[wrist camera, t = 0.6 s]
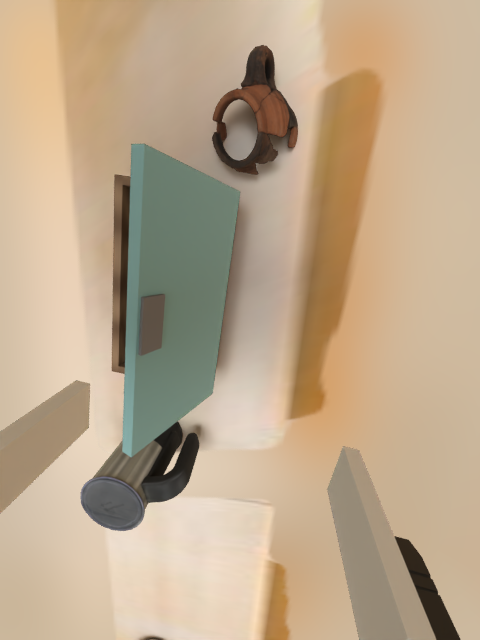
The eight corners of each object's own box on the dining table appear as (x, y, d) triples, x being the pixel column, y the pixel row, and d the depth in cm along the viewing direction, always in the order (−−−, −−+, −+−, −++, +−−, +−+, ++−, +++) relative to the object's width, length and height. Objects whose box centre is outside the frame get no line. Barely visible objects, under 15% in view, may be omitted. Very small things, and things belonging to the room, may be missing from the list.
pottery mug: (300, 172, 36) (270, 175, 30) (242, 173, 40) (206, 175, 35) (310, 48, 30) (275, 22, 24) (240, 66, 34) (196, 47, 29)
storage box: (142, 186, 38) (114, 174, 32) (238, 200, 37) (230, 191, 30) (135, 352, 46) (111, 371, 39) (215, 368, 45) (205, 390, 38)
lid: (131, 143, 18) (147, 143, 18) (231, 191, 30) (242, 191, 30) (122, 451, 26) (133, 458, 25) (205, 390, 38) (214, 394, 37)
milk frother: (151, 458, 52) (104, 539, 37) (105, 391, 49) (35, 451, 35) (214, 434, 48) (189, 513, 34) (169, 360, 45) (120, 413, 31)
